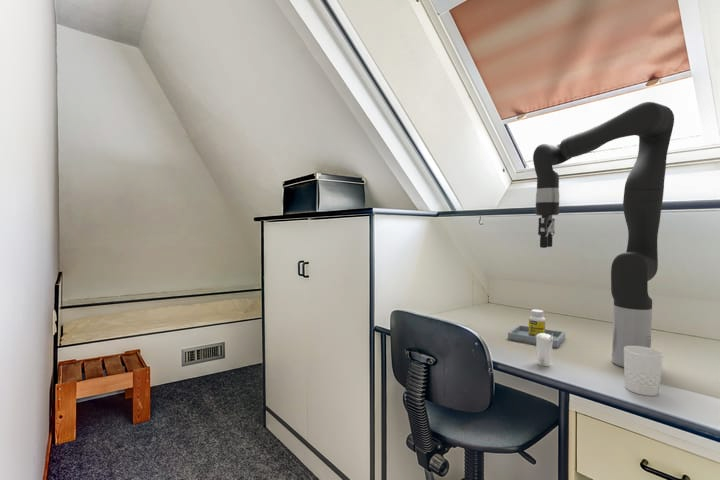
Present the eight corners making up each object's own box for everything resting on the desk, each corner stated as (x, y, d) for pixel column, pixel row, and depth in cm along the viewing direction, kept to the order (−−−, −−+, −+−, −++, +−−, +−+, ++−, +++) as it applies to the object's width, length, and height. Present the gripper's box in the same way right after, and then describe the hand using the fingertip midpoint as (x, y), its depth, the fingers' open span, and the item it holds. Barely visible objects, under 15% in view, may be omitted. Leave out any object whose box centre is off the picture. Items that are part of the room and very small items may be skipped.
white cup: (666, 399, 91) (668, 357, 91) (627, 394, 94) (628, 353, 94) (655, 386, 99) (656, 347, 98) (618, 381, 101) (620, 344, 101)
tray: (565, 338, 140) (565, 332, 140) (557, 348, 128) (557, 341, 128) (518, 331, 149) (518, 324, 149) (507, 339, 138) (508, 332, 138)
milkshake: (544, 369, 110) (545, 334, 110) (531, 362, 115) (532, 329, 115) (558, 367, 111) (559, 333, 111) (544, 361, 117) (545, 328, 116)
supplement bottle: (527, 338, 138) (528, 311, 137) (529, 334, 143) (529, 308, 142) (544, 340, 135) (545, 312, 135) (545, 336, 140) (546, 309, 140)
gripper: (554, 200, 129) (553, 248, 130) (562, 202, 141) (561, 246, 141) (531, 200, 134) (530, 247, 135) (540, 202, 145) (539, 246, 146)
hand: (546, 247), depth 138 cm, fingers open, 8 cm apart
